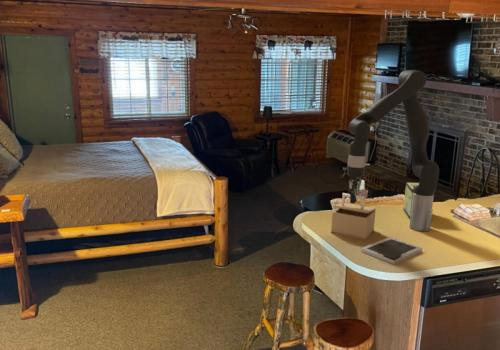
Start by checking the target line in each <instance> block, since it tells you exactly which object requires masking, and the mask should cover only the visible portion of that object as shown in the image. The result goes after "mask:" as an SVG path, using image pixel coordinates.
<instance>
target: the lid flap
mask: <svg viewBox="0 0 500 350" xmlns="http://www.w3.org/2000/svg"><path fill="white" fill-rule="evenodd" d="M350 196H351V195H350V194H349V193H345V192H342V196H341V197H342V198H341V199H342V200H341V202H339V203H336V204H333V208H336V209H337V208H342V209H347V210H353V211H359V212H364V213H369V212H372V211H374V210H377V207H372V206H365V201H366V196H364V195H358V194H357V195H356V199H357V200H360V201H361V205H360V204H359V205H358V204H355V203H354V204H353V203H348V202H345V201H346V198H349V199H350Z"/></svg>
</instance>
